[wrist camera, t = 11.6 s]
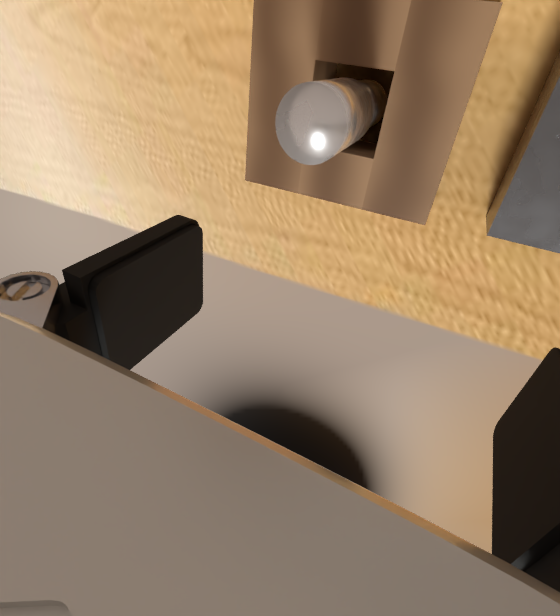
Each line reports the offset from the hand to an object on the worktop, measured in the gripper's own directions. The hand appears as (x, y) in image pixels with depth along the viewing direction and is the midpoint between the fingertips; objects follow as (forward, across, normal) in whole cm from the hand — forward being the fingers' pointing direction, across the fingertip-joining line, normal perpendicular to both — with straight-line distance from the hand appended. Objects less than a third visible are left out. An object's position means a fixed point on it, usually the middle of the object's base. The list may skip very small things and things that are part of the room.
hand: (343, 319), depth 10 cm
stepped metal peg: (+23, +6, -2) cm, 24 cm away
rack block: (+23, +6, -2) cm, 24 cm away
